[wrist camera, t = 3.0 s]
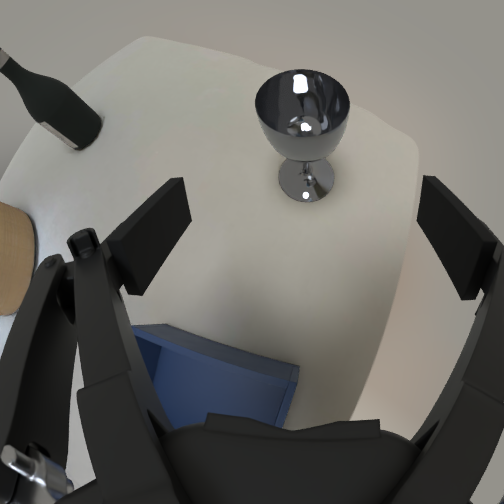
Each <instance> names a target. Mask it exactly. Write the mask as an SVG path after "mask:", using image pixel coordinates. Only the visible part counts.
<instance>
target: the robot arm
mask: <svg viewBox="0 0 504 504" xmlns="http://www.w3.org/2000/svg"><path fill="white" fill-rule="evenodd" d="M191 221H192V219H191V214H190V210H189V205H188V200H187V195H186V190H185V185H184V180H183V177H179V178H170V179H169V180H168V181H167V182H166V183H165V184H164V185H163V186H161V187H160V188H159V189H158V190H157V191H156V192H155V193H154V194H153V195H151V196H150V197H149V198H148V199H147V200H146V201H145V202H144V203H143V204H142V205H141V206H140V207H139V208H138V209H137V210H135V211H134V212H133V213H132V214H131V215H130V216H129V217H128V218H127V219H126V220H125V221H124V222H122V223H121V224H120V225H119V226H118V227H117V228H116V230H114V231H113V232H112V233H111V234H110V235H109V236H108V237H107V238H106V239H105V240H104V241H103V242H102V243H101V244H100V243H99V241H98V238H97V235H96V233H95V230H94V229H93V228H86V229H83V230H80V231H78V232H76V233H74V234H73V235H72V236H70V238H69V239H68V240H67V244H68V247H69V249H70V251H71V254H72V256H73V258H74V261H72V262H68V263H65V262H64V260H63V257H62V256H61V254H55V255H52V256H48V257H47V258H45V259H44V261H43V262H42V263H41V264H40V265H39V267H38V269H37V271H36V273H35V275H34V277H33V279H32V281H31V283H30V285H29V287H28V289H27V292H26V294H25V296H24V298H23V300H22V303H21V305H20V307H19V310H18V312H17V315H16V317H15V320H14V322H13V325H12V327H11V330H10V333H9V335H8V338H7V341H6V344H5V347H4V350H3V353H2V356H1V359H0V504H473V503H472V502H471V501H470V498H471V496H472V494H473V493H474V491H475V489H476V487H477V485H478V484H479V482H480V480H481V478H482V476H483V474H484V472H485V470H486V468H487V466H488V464H489V462H490V459H491V458H492V455H493V453H494V451H495V448H496V446H497V444H498V441H499V439H500V436H501V433H502V431H503V428H504V245H503V244H502V243H501V242H500V241H499V240H498V238H497V237H496V236H495V235H494V234H493V232H492V231H491V230H489V228H488V227H487V225H486V224H485V223H484V222H482V221H481V220H479V219H478V218H477V217H476V216H475V215H474V214H473V213H472V212H471V211H470V210H469V209H468V208H467V207H466V206H465V205H464V204H463V203H462V202H461V201H460V200H459V199H458V198H457V197H456V196H455V195H454V194H453V193H452V192H451V191H450V190H449V189H448V188H447V187H446V186H445V185H444V184H443V183H442V182H441V181H440V180H439V179H437V178H436V177H435V176H425V175H423V182H422V189H421V197H420V203H419V209H418V215H417V222H418V224H419V226H420V227H421V229H422V230H423V232H424V233H425V235H426V237H427V238H428V240H429V241H430V243H431V245H432V246H433V248H434V250H435V252H436V253H437V255H438V257H439V259H440V260H441V262H442V264H443V266H444V268H445V269H446V271H447V273H448V275H449V277H450V279H451V280H452V282H453V284H454V286H455V288H456V290H457V292H458V294H459V296H460V298H461V300H475V299H476V297H477V295H478V293H479V290H480V288H481V289H482V290H483V292H484V296H483V299H482V301H481V303H480V305H479V307H478V309H477V311H476V313H475V315H476V317H475V321H474V323H473V326H472V328H471V331H470V333H469V336H468V338H467V341H466V343H465V345H464V348H463V350H462V352H461V354H460V357H459V359H458V361H457V363H456V365H455V368H454V369H453V371H452V373H451V375H450V377H449V379H448V381H447V383H446V385H445V387H444V389H443V391H442V393H441V394H440V396H439V398H438V400H437V402H436V403H435V405H434V407H433V408H432V410H431V412H430V413H429V415H428V417H427V418H426V420H425V421H424V423H423V425H422V426H421V428H420V429H419V430H418V432H417V433H416V434H415V435H414V437H413V438H412V439H411V440H410V441H409V440H408V439H406V438H404V437H402V436H400V435H398V434H395V433H392V432H389V431H385V430H380V419H375V420H360V421H337V422H333V423H329V424H325V425H320V426H316V427H311V428H306V429H301V430H296V431H291V430H286V429H283V428H280V427H276V426H273V425H270V424H267V423H264V422H261V421H257V420H255V419H252V418H249V417H240V416H232V415H224V414H217V413H211V412H208V413H207V417H206V420H205V422H200V423H194V424H189V425H186V426H182V427H180V428H177V429H174V427H173V426H172V424H171V423H170V421H169V419H168V417H167V415H166V413H165V411H164V409H163V407H162V404H161V402H160V400H159V398H158V395H157V393H156V391H155V388H154V386H153V383H152V381H151V378H150V376H149V373H148V371H147V368H146V366H145V363H144V361H143V358H142V355H141V353H140V350H139V347H138V344H137V341H136V338H135V336H134V333H133V330H132V327H131V324H130V320H129V317H128V314H127V311H126V308H125V304H124V301H123V298H122V295H121V293H120V291H119V289H120V288H121V286H122V285H123V284H124V286H125V289H126V291H127V293H128V295H139V296H143V294H144V293H145V291H146V289H147V288H148V286H149V285H150V283H151V281H152V280H153V278H154V277H155V275H156V274H157V272H158V270H159V269H160V267H161V266H162V264H163V263H164V261H165V260H166V258H167V257H168V255H169V254H170V252H171V251H172V249H173V248H174V246H175V245H176V243H177V242H178V240H179V239H180V237H181V236H182V234H183V233H184V231H185V230H186V229H187V227H188V226H189V224H190V223H191ZM77 342H78V347H79V355H80V362H81V369H82V375H83V381H84V388H82V389H79V390H78V391H77V404H78V409H79V414H80V419H81V424H82V428H83V433H84V437H85V441H86V445H87V449H88V452H89V456H90V460H91V463H92V466H93V470H94V473H95V476H96V479H94V480H93V481H91V482H89V483H87V484H85V485H84V486H82V487H80V488H78V489H76V490H74V485H73V483H72V481H71V480H70V479H68V478H67V476H66V473H65V469H66V463H67V456H68V441H69V414H70V400H71V388H72V379H73V370H74V362H75V355H76V349H77ZM73 490H74V491H73ZM498 504H504V496H503V497H502V499H501V501H500V503H498Z"/></svg>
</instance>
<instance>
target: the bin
mask: <svg viewBox="0 0 504 504" xmlns="http://www.w3.org/2000/svg"><path fill="white" fill-rule="evenodd" d="M131 327H132V330H133V333H134V336H135V338H136V341H137V344H138V347H139V350H140V353H141V355H142V358H143V361H144V363H145V366H146V368H147V371H148V373H149V376H150V378H151V381H152V383H153V386H154V388H155V391H156V393H157V395H158V398H159V400H160V402H161V404H162V407H163V409H164V411H165V413H166V415H167V417H168V419H169V421H170V423H171V424H172V426H173V427H174V429H177V428H180V427H182V426H186V425H189V424H194V423H200V422H205V420H206V417H207V413H208V412H211V413H217V414H224V415H232V416H240V417H249V418H252V419H255V420H257V421H261V422H264V423H267V424H270V425H273V426H276V427H280V428H282V427H283V424H284V421H285V419H286V416H287V413H288V410H289V407H290V404H291V401H292V398H293V395H294V392H295V389H296V386H297V382H298V375H299V368H300V366H297V365H293V364H289V363H285V362H282V361H278V360H274V359H271V358H267V357H264V356H260V355H257V354H253V353H250V352H247V351H243V350H240V349H237V348H234V347H230V346H227V345H224V344H221V343H218V342H215V341H212V340H209V339H206V338H203V337H200V336H198V335H195V334H192V333H189V332H186V331H184V330H181V329H178V328H175V327H173V326H170V325H167V324H152V325H131Z"/></svg>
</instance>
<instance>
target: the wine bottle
mask: <svg viewBox="0 0 504 504" xmlns="http://www.w3.org/2000/svg"><path fill="white" fill-rule="evenodd" d="M0 72H1V73H2V74H4V75H5V76H6V77H7V78H8V79H9V80H11V81H12V83H13V84H14V85H15V86H16V88H17V90H18V91H19V93H20V95H21V97H22V99H23V102H24V104H25V106H26V108H27V110H28V112H29V113H30V115H31V116H32V117H33V119H34V120H35V121H36V122H37V123H39V124H40V125H41V126H43V127H44V128H45V129H47V130H48V131H50V132H51V133H52V134H54V135H55V136H56V137H58V138H59V139H61V140H62V141H63V142H65V143H66V144H67V145H69V146H70V147H72V148H74V149H81V148H83V147H85V146H87V145H88V144H89V143H90V142H92V140H93V139H94V138H95V137H96V135H97V133H98V131H99V129H100V125H101V121H100V117H99V116H98V115H97V114H96V113H95V112H94V111H93V110H92V109H91V108H90V107H89V106H88V105H87V104H86V103H85V102H84V101H83V100H82V99H81V98H80V97H79V96H78V95H76V94H75V93H74V92H73V91H72V90H71V89H70V88H69V87H68V86H67V85H65V84H64V83H62V82H60V81H59V80H56V79H54V78H51V77H47V76H43V75H39V74H35V73H33V72H30V71H28V70H26V69H24V68H22V67H21V66H20V65H19V64H18V63H17V62H15V61H14V60H13V59H12V58H11V57H10V56H9V55H8V54H6V52H4V51H3V50H2V49H1V48H0Z"/></svg>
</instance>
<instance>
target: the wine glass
mask: <svg viewBox="0 0 504 504" xmlns="http://www.w3.org/2000/svg"><path fill="white" fill-rule="evenodd" d="M255 108H256V112H257V116H258V119H259V122H260V125H261V128H262V130H263V132H264V134H265V136H266V138H267V139H268V141H269V142H270V144H271V145H272V146H273V147H274V149H275V150H276V151H277V152H278V153H279V154H281V155H282V156H283V157H285V158H286V159H287V160H286V161H285V162H284V163H283V164H282V166H281V168H280V171H279V182H280V185H281V188H282V189H283V191H284V192H285V193H286V194H287V195H288V196H290V197H291V198H293V199H295V200H297V201H301V202H313V201H317V200H319V199H321V198H323V197H325V196H326V195H327V194H328V193H329V191H330V190H331V188H332V186H333V183H334V172H333V169H332V167H331V165H330V164H329V163H328V161H326V160H325V159H324V158H326V157H327V156H329V155H330V154H331V153H332V152H333V151H334V150H335V149H336V147H337V146H338V144H339V143H340V141H341V139H342V137H343V135H344V132H345V130H346V126H347V122H348V117H349V111H350V101H349V97H348V94H347V92H346V90H345V89H344V88H343V86H342V85H341V84H340V83H339V82H337V81H336V80H335V79H333V78H332V77H330V76H328V75H326V74H324V73H321V72H317V71H313V70H305V69H298V70H290V71H285V72H282V73H279V74H277V75H275V76H273V77H272V78H270V79H268V80H267V81H266V82H265V83H264V84H263V85H262V86H261V88H260V89H259V91H258V93H257V95H256V99H255Z"/></svg>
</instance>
